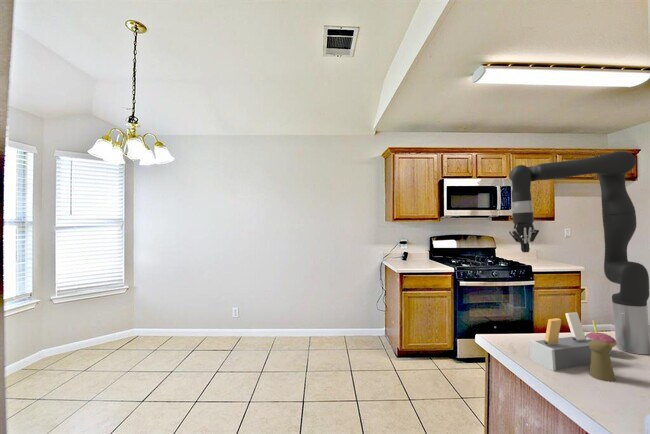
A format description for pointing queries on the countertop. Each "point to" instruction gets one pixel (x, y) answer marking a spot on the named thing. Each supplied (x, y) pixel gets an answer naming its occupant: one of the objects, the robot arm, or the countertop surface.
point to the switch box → (561, 353)
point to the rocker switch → (575, 326)
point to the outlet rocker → (552, 331)
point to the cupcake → (602, 337)
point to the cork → (601, 361)
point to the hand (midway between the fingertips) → (525, 252)
